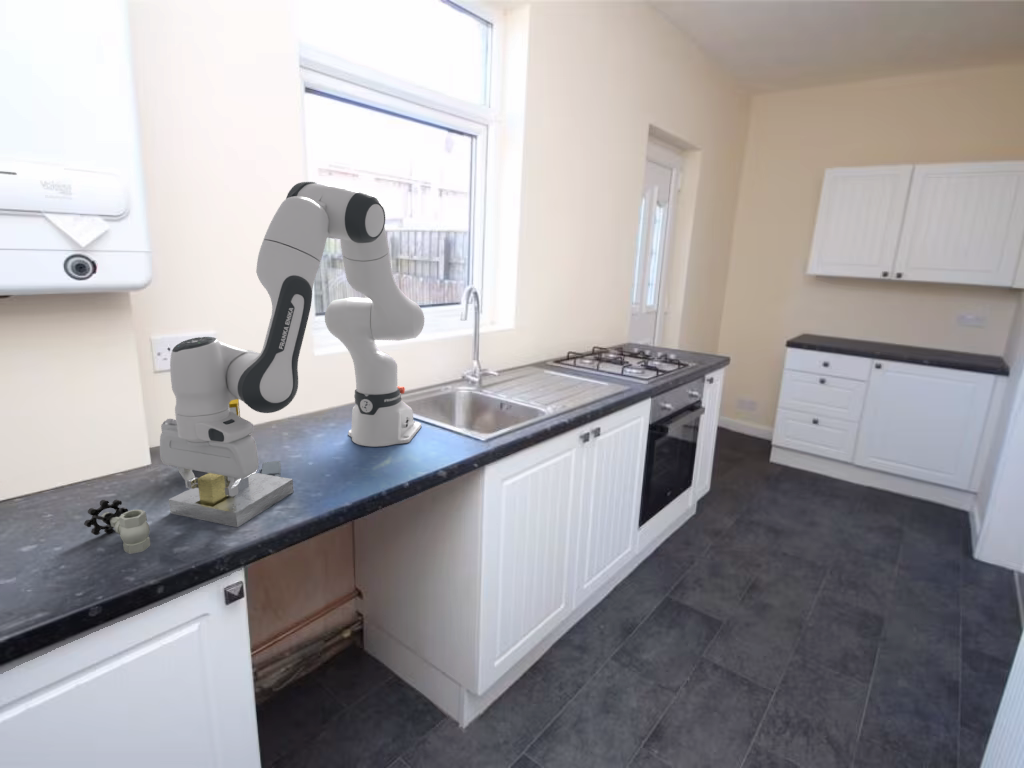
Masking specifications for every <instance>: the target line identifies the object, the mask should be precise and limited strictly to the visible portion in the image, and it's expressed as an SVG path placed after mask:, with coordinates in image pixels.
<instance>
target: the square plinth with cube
mask: <svg viewBox="0 0 1024 768" xmlns="http://www.w3.org/2000/svg"><path fill="white" fill-rule="evenodd" d="M224 478H225V487H227V486H229V484H230V481H228V477H227V476H224ZM293 493H294V480H293V478H288V477H282V476H280V477H277V476H272V475H266V474H261V473H259V472H255V473H254V474H252V475H251V476H249V477H247V478H244V479H241V481H240V483H239V484H238V494H237V495H235V496H228V495H226V497H227V499H226V500H224V501H223V502H221V503H219V504H217V505H215V506H214V507H212V506H207V505H202V504H200V496H199V488H198V487H196V488H194V489H190V488H188V489H187V490H185V491H183V492H181V493H179V494H177V495H175V496H172V497H171V498H169V499H168V505H169V511H170V512H169V513H170V514H171V515H176V516H182V517H186V518H190V519H196V520H201V521H206V522H211V523H215V524H220V525H224V526H230V527H235V528H239V527H240V526H242V525H244V524H245V523H247V522H248V521H249V520H251V519H253V518H255V517H256V516H258V515H259V514H261V513H263V512H264V511H266V510H267V509H269V508H270V507H272V506H273V505H275V504H277V503H279V502H280V501H282V500H284V499H285V498H287V497H288V496H289V495H291V494H293Z"/></svg>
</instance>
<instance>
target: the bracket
mask: <svg viewBox="0 0 1024 768" xmlns="http://www.w3.org/2000/svg"><path fill="white" fill-rule="evenodd" d="M281 465H282V464H281V460H276V461H266V462H265V461H264V462H262V466H261V473H260V474H266V475H272V476H277V477H281V470H282V469H281Z"/></svg>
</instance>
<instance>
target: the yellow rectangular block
mask: <svg viewBox="0 0 1024 768" xmlns="http://www.w3.org/2000/svg"><path fill="white" fill-rule="evenodd" d="M197 479H198V488H199V496H200V504H202V505H207V506H212V507H214V506H215V505H217V504H219V503H221V502H223V501H224V500H226V499H227V497H226V495H225V478H224V475H218V474H213V473H205V474H204V475H201V476H200V477H197Z"/></svg>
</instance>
